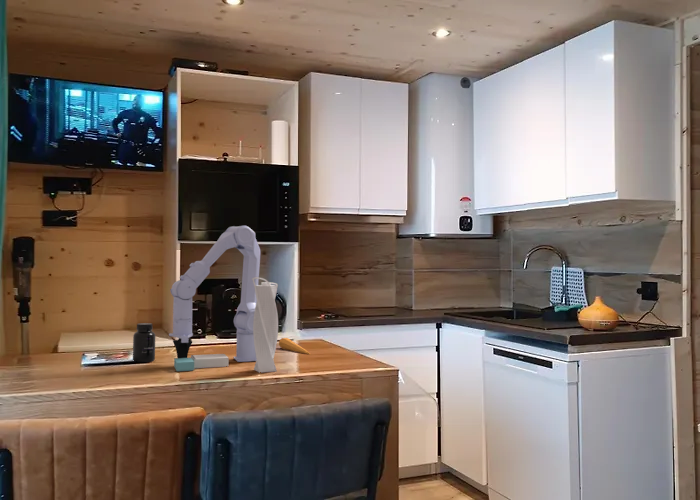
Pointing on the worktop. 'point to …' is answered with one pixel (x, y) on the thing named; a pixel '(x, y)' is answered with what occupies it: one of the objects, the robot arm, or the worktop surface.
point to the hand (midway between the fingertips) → (182, 363)
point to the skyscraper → (265, 326)
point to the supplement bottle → (144, 343)
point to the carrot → (291, 346)
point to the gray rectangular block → (210, 360)
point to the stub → (183, 364)
